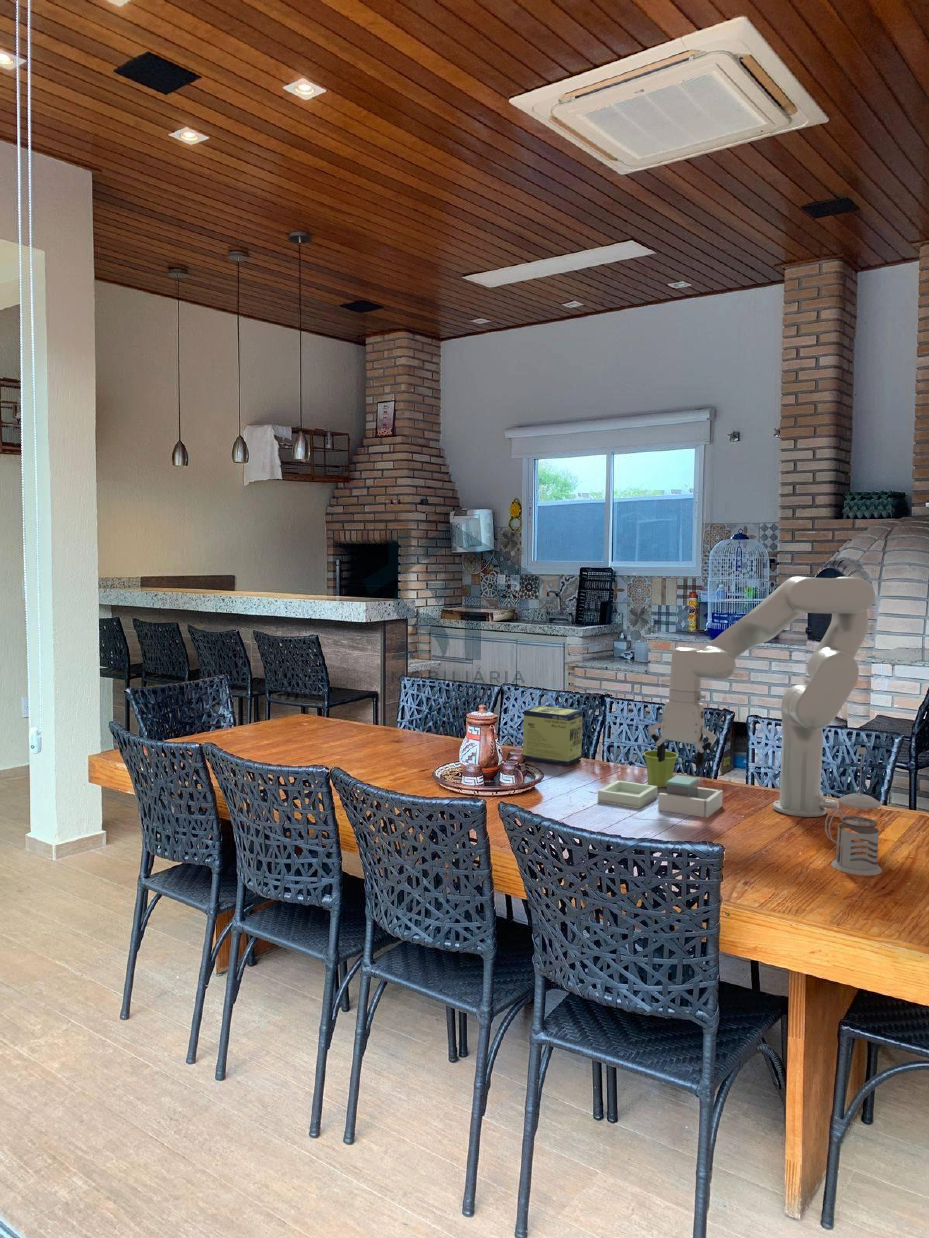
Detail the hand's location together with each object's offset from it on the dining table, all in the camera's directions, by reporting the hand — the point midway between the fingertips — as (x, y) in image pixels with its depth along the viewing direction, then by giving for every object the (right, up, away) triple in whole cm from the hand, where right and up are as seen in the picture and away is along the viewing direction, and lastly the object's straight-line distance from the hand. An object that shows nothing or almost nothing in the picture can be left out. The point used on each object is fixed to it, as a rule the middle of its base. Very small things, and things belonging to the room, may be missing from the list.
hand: (679, 764), depth 235 cm
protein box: (-27, -7, +51) cm, 58 cm away
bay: (+3, -11, 0) cm, 11 cm away
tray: (-12, -10, +7) cm, 17 cm away
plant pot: (0, -9, +22) cm, 24 cm away
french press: (+25, -15, -43) cm, 52 cm away
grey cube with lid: (+1, -11, +1) cm, 11 cm away
